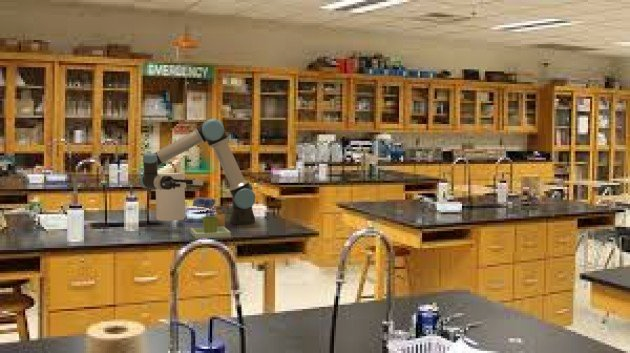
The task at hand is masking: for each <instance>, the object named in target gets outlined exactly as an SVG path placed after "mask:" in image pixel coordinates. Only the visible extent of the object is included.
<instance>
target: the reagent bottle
mask: <svg viewBox="0 0 630 353" xmlns="http://www.w3.org/2000/svg"><path fill="white" fill-rule="evenodd" d="M222 209H223V206H221V205H218V206H216V210H217V213H213V217H219V218H220V219H219V221H218V226H217V227H225V228H226V213H223V212H222V211H223V210H222Z"/></svg>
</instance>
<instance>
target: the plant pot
mask: <svg viewBox="0 0 630 353" xmlns="http://www.w3.org/2000/svg"><path fill="white" fill-rule="evenodd" d="M201 219H202V223H203V224H202V225H203V228H204V232H205V233H215V232H217V226H218V221H219V219H220V218H219V217H214V216H203V217H201Z"/></svg>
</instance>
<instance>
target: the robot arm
mask: <svg viewBox="0 0 630 353" xmlns="http://www.w3.org/2000/svg"><path fill="white" fill-rule="evenodd" d="M228 139H229V136H228V135H227V132H226V130H225V127H224V124H223V122H222V121H220V120H218V119H217V118H209V119H207V120H205V121H203V123H202V124H200V125H198V126H197V127H195V128H194V130H193V131H191V132H189V133H187V134H186V135H184V136H182V137H181V138H179V139H177V140H175V141H173V142H172V143H169V144H168V145H166V146H164V147H162V148H160V149H159V150H157V151H156V152H154V153H152V152H151V153H144V154H143V155H142V164H143V166H142V167H143V175H141V176H140V178H139V185H140V186H141V187H142V188H143V189H148V190H156V189H160V190H162V189H165V190H170V189H172V187H173V189H175V187H176V188H185V189H187V185H188V186H189V185H194V186H203V185H204V181H203V179H195V178H193V179H190V178H189V179H184V180H181V179H173V178H172V177H171V176H161V175H158V173H159V172H158V167H159V166H161V165H163V164H165V163H166V162H168V161H170V160H171V159H174V158H176V157H177V156H179V155H180V154H183V153H184V152H186V151H188V150H190V149H192V148H193V147H195V146H197V145H198V144H201V143H207V146H208V147H210V148H212V149H213V151H214V154H215V156H216V158H217V159H218V162H219V164H220V166H221V169H222V171H223V173H224V175H225V177H226V180H227V182H228V184H229V186H230V187H229V192H230V194H231V197H232V204H231V205H232V206H231V207H232V209H231V213H230V217H229V223H230V224H232V225H251V224H255V223H256V216H255V214H254V210H253V205H255V203H256V194H255V192H254V191H253V184H252V183H250V182H249V181H248V180H245V178H244V176H243V173H242V172H241V169H240V167H239V165H238V162H237V161H236V158H235V156H234V154H233V152H232V150H231V148H230V146H229V145H230V144H228Z"/></svg>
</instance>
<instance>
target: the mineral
mask: <svg viewBox="0 0 630 353" xmlns="http://www.w3.org/2000/svg"><path fill="white" fill-rule="evenodd" d="M215 205H216V199H214V198H213V197H203V196H201V197H195V198H194V199H193V202H192V204H191V206H197V207H206V208H209V209H210V210H212V208H213V207H214V206H215Z"/></svg>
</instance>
